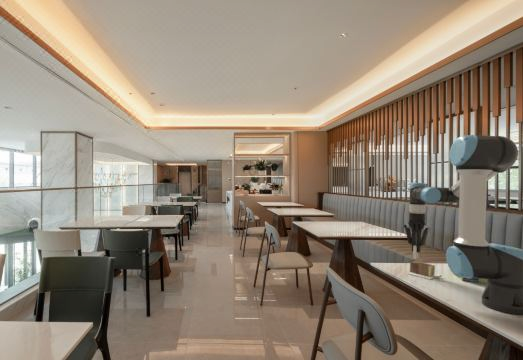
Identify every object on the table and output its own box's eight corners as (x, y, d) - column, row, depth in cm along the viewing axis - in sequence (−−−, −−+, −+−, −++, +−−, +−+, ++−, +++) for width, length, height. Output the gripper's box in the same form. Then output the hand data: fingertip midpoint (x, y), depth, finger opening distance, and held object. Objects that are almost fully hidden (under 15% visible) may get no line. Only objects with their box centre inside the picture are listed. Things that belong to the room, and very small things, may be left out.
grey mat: (430, 279, 157) (430, 278, 157) (407, 274, 165) (408, 273, 165) (441, 275, 164) (441, 275, 164) (419, 270, 173) (419, 269, 173)
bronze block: (410, 271, 168) (429, 276, 160) (410, 262, 168) (430, 266, 160) (414, 270, 171) (434, 275, 163) (415, 261, 171) (434, 265, 163)
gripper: (433, 213, 166) (432, 260, 166) (408, 211, 176) (407, 254, 176) (426, 214, 161) (424, 261, 161) (401, 211, 171) (399, 256, 171)
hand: (415, 258), depth 169 cm, fingers closed
